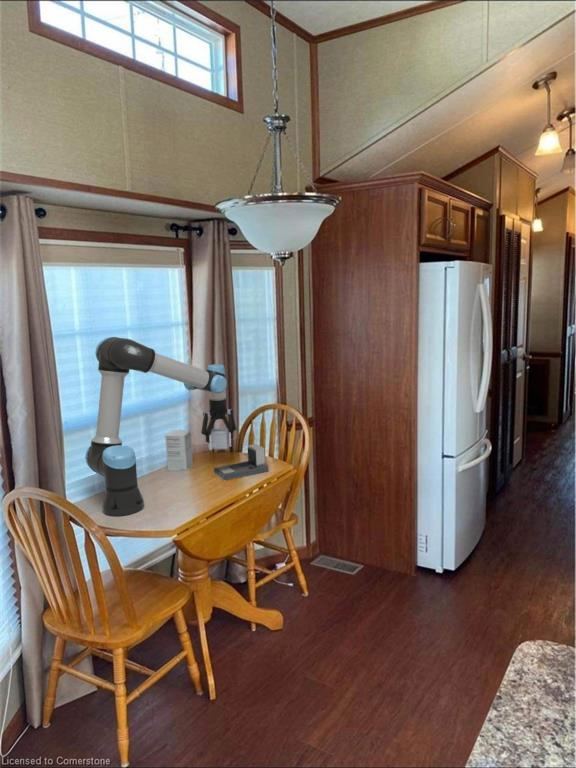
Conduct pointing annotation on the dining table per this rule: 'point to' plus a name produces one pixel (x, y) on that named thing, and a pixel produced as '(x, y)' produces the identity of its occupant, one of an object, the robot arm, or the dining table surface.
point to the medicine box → (219, 438)
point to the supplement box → (179, 450)
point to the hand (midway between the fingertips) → (219, 447)
